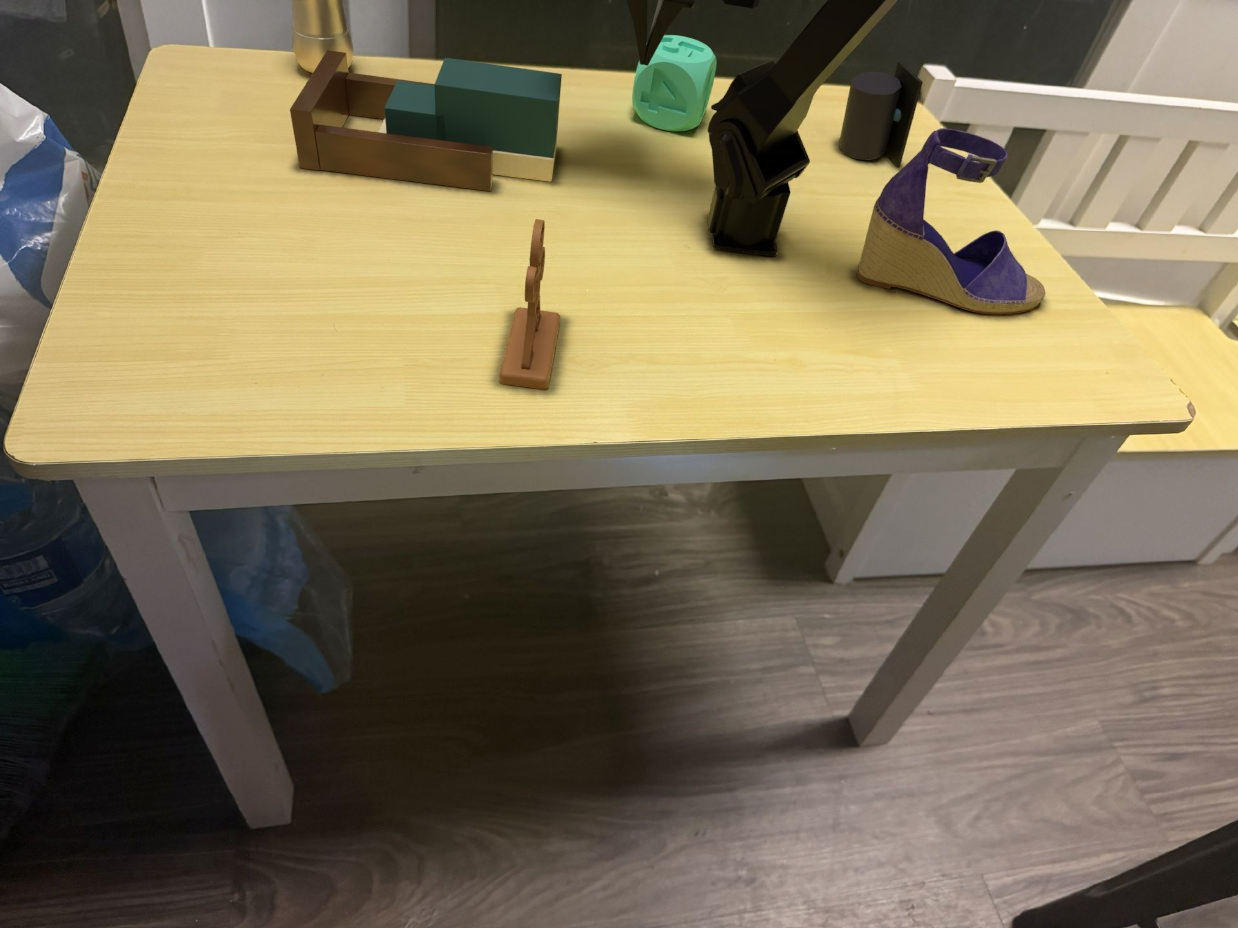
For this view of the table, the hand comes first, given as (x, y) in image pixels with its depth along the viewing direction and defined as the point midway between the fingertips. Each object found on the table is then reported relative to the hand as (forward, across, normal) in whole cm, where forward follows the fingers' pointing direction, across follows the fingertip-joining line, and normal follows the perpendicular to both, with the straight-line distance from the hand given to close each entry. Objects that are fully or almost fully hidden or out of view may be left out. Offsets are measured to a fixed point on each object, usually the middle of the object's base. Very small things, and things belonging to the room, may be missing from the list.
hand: (643, 63), depth 80 cm
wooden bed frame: (+12, +23, 0) cm, 26 cm away
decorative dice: (+12, -5, -16) cm, 20 cm away
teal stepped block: (+12, +17, 0) cm, 21 cm away
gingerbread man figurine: (+12, +7, +31) cm, 34 cm away
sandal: (+12, -33, +13) cm, 37 cm away
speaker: (+12, -29, -13) cm, 34 cm away
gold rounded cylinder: (+12, +36, -15) cm, 41 cm away
